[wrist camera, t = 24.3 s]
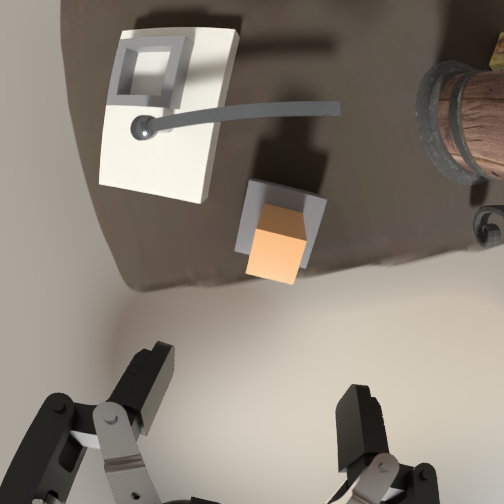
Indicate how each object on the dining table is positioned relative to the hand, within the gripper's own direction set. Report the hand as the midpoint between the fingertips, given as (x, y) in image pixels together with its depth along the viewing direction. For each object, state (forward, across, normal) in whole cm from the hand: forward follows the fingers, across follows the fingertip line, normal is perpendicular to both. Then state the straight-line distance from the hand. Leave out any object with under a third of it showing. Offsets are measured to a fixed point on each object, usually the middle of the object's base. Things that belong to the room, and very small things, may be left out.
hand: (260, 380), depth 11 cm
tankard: (+24, -22, -16) cm, 37 cm away
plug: (+24, 0, 0) cm, 24 cm away
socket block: (+24, +16, -10) cm, 31 cm away
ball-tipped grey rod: (+16, +6, -10) cm, 20 cm away
